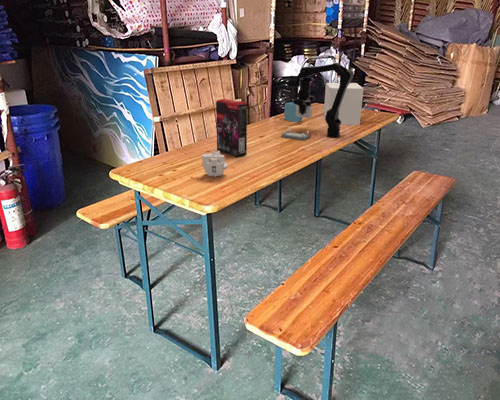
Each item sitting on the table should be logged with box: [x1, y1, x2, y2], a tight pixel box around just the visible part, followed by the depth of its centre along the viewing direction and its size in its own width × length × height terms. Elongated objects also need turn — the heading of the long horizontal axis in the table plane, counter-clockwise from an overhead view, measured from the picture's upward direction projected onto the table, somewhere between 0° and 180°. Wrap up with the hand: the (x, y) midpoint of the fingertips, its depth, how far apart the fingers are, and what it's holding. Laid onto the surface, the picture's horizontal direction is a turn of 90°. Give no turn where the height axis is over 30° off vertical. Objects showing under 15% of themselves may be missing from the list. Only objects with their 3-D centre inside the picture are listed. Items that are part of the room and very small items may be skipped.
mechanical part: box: [201, 150, 229, 179], centre depth 197 cm, size 11×12×12 cm
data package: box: [283, 102, 303, 123], centre depth 303 cm, size 12×4×12 cm, turn 51°
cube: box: [323, 82, 364, 126], centre depth 302 cm, size 25×21×24 cm
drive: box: [296, 104, 313, 119], centre depth 270 cm, size 9×5×7 cm, turn 58°
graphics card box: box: [215, 98, 248, 158], centre depth 227 cm, size 17×7×27 cm, turn 46°
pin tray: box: [280, 127, 312, 142], centre depth 263 cm, size 15×9×4 cm, turn 58°
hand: (303, 114), depth 271 cm, fingers closed on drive, 5 cm apart
